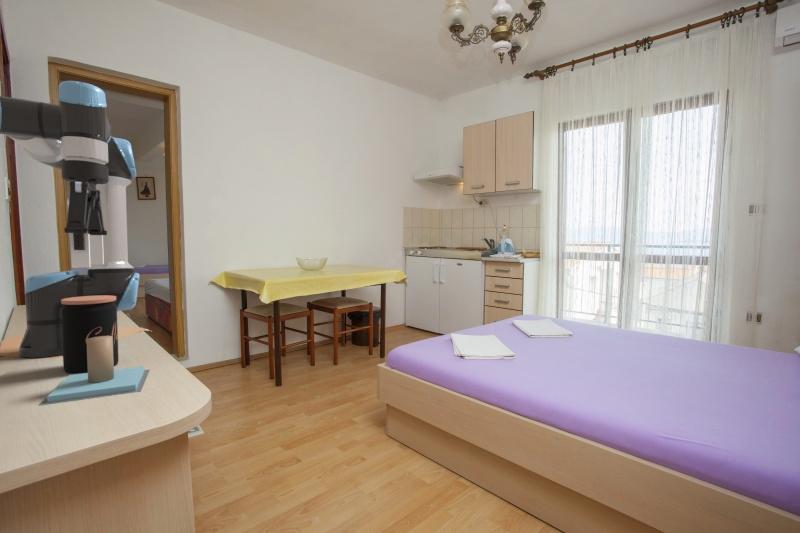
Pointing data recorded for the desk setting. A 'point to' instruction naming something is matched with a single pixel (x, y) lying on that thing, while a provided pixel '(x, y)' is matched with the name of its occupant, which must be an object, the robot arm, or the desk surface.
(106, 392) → the lid
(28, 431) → the desk surface
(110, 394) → the mat
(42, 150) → the robot arm
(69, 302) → the coffee jar
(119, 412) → the desk surface
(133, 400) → the desk surface
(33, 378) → the desk surface
